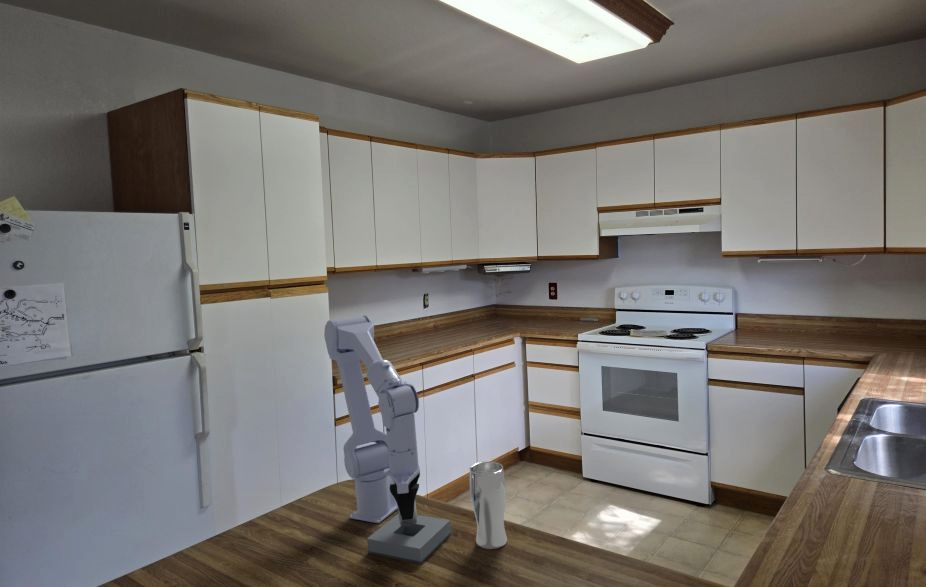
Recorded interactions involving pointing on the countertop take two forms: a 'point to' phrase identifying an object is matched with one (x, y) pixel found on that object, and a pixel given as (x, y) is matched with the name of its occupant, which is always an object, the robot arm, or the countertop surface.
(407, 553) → the hole block
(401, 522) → the peg
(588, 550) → the countertop surface
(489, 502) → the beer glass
